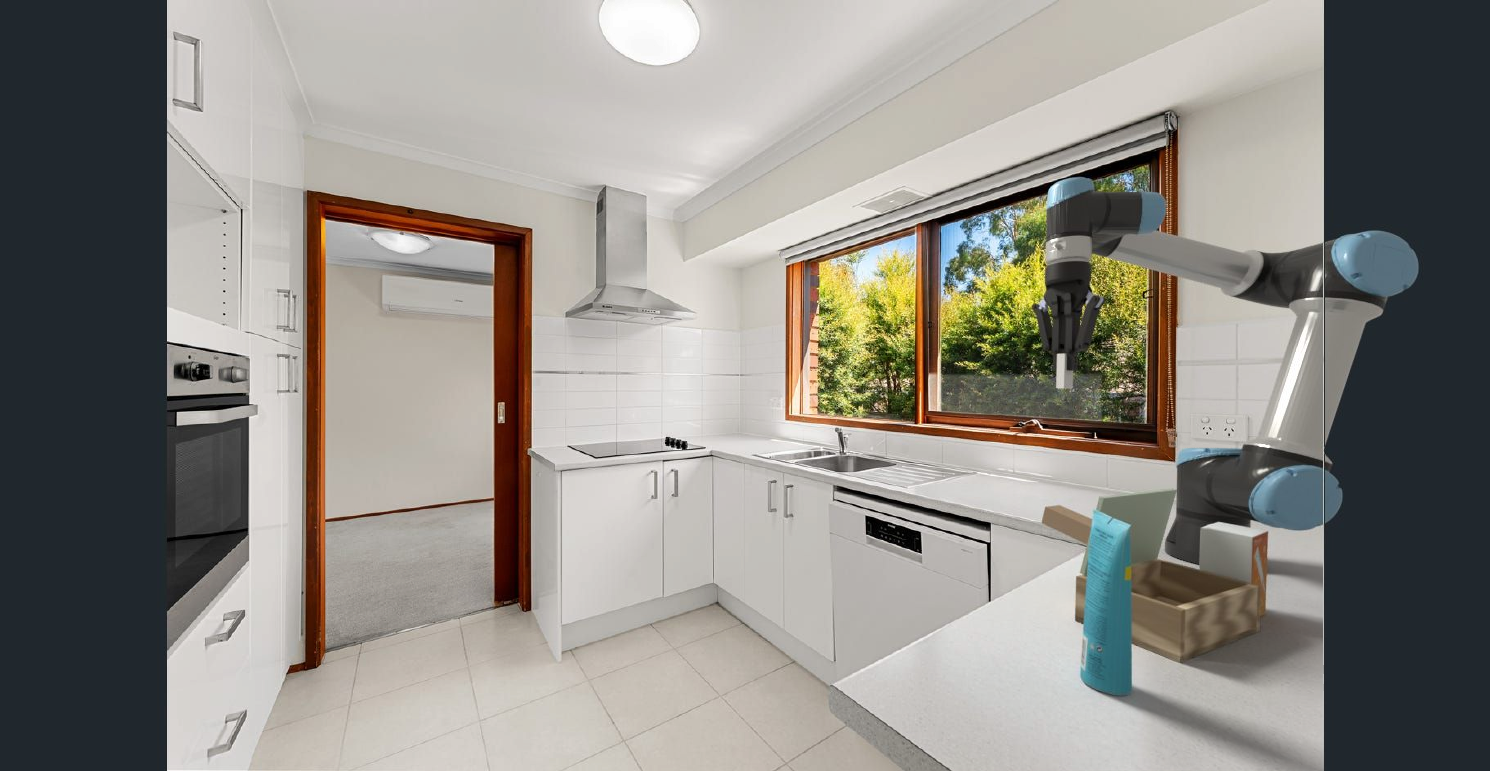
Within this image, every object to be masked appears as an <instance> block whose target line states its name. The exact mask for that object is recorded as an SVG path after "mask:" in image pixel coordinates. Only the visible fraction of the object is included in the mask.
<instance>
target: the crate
mask: <svg viewBox="0 0 1490 771" xmlns="http://www.w3.org/2000/svg"><path fill="white" fill-rule="evenodd" d="M1086 583H1087V575H1083V574H1081V575H1075V600H1074V601H1075V606H1074V607H1075V609H1074V621H1075V622H1077V623H1080V624H1082V625H1084V612H1085V597H1086ZM1260 599H1261V586H1260V585H1256V584H1252V583H1249V582H1245V581H1241V580H1237V579H1233V578H1230V577H1226V576H1222V575H1218V574H1214V573H1211V572H1207V571H1203V570H1199V568H1195V567H1190V566H1187V565H1183V564H1180V563H1177V562H1176V563H1175V562H1172V561H1168V560H1165V559H1161V558H1157V559H1154V560H1150V561H1145V562H1141V563H1136V564H1132V565H1131V612H1132V645H1135V646H1138V647H1139V648H1142V649H1144V650H1148V651H1149V652H1152V653H1154V654H1157V655H1159V656H1162V657H1165V658H1167V659H1169V660H1172V661H1174V662H1177V663H1179V664H1180V663H1184V662H1186V661H1189V660H1190V659H1193V658H1196V657H1199V656H1201V655H1203V654H1206V653H1208V652H1211V651H1214V650H1216V649H1218V648H1220V647H1223V646H1226V645H1229V644H1230V643H1234V642H1236V641H1239V640H1241V639H1243V638H1246V637H1248V636H1251V635H1253V634H1256V633H1259V632H1260V631H1261V627H1260V626H1261V616H1260Z"/></svg>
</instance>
